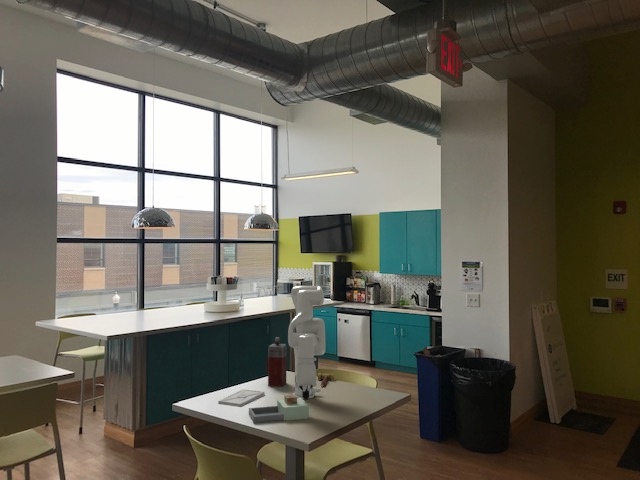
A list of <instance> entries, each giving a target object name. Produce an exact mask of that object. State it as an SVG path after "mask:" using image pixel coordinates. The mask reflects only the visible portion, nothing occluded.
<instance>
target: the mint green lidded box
mask: <svg viewBox="0 0 640 480" xmlns="http://www.w3.org/2000/svg"><path fill="white" fill-rule="evenodd" d="M276 402H277V404H276V406H278V412H279V414H284V422H286V421H294V420H296V421H297V420H305V419H307V420H308V419H309V418H310V416H309V415H310V411H309V410H310V405H309V404H308V403H307V402H306V400H304V399H302V398H297V404H286V403H285V402H284V399H283V398H282V399H281V398H280V399H277V401H276ZM285 420H286V421H285Z"/></svg>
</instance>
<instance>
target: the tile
mask: <svg viewBox="0 0 640 480" xmlns="http://www.w3.org/2000/svg"><path fill="white" fill-rule="evenodd" d="M283 397H284V402H285V403H286V404H297V397H296V396H295V395H292V394H285V395H284V396H283Z"/></svg>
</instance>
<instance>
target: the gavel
mask: <svg viewBox="0 0 640 480" xmlns="http://www.w3.org/2000/svg"><path fill="white" fill-rule="evenodd" d="M321 379H323V380H321ZM331 380H334V381H335V373H322V372H318V373H317V381H321V382H320V386H322V387H321V388H324V387H325V386H326V384H327V381H331ZM323 386H324V387H323Z"/></svg>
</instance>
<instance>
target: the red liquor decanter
mask: <svg viewBox="0 0 640 480" xmlns="http://www.w3.org/2000/svg"><path fill="white" fill-rule="evenodd" d="M267 348H268V349H267V351H268V352H267V353H268V354H267V357H266V360H265V361H266V363H265V364H266V367H265V369H266V370H265V372H266V373H267V386H268V387H280V388H281V387H284V386H285V385H286V384H287V360H288V359H287V355H288V354H287V353H288V352H287V351H288V350H287V344H286V343H281V338H280V337H278V336H276V337H275V339H274V343H272V344H270V345H268V347H267Z"/></svg>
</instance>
